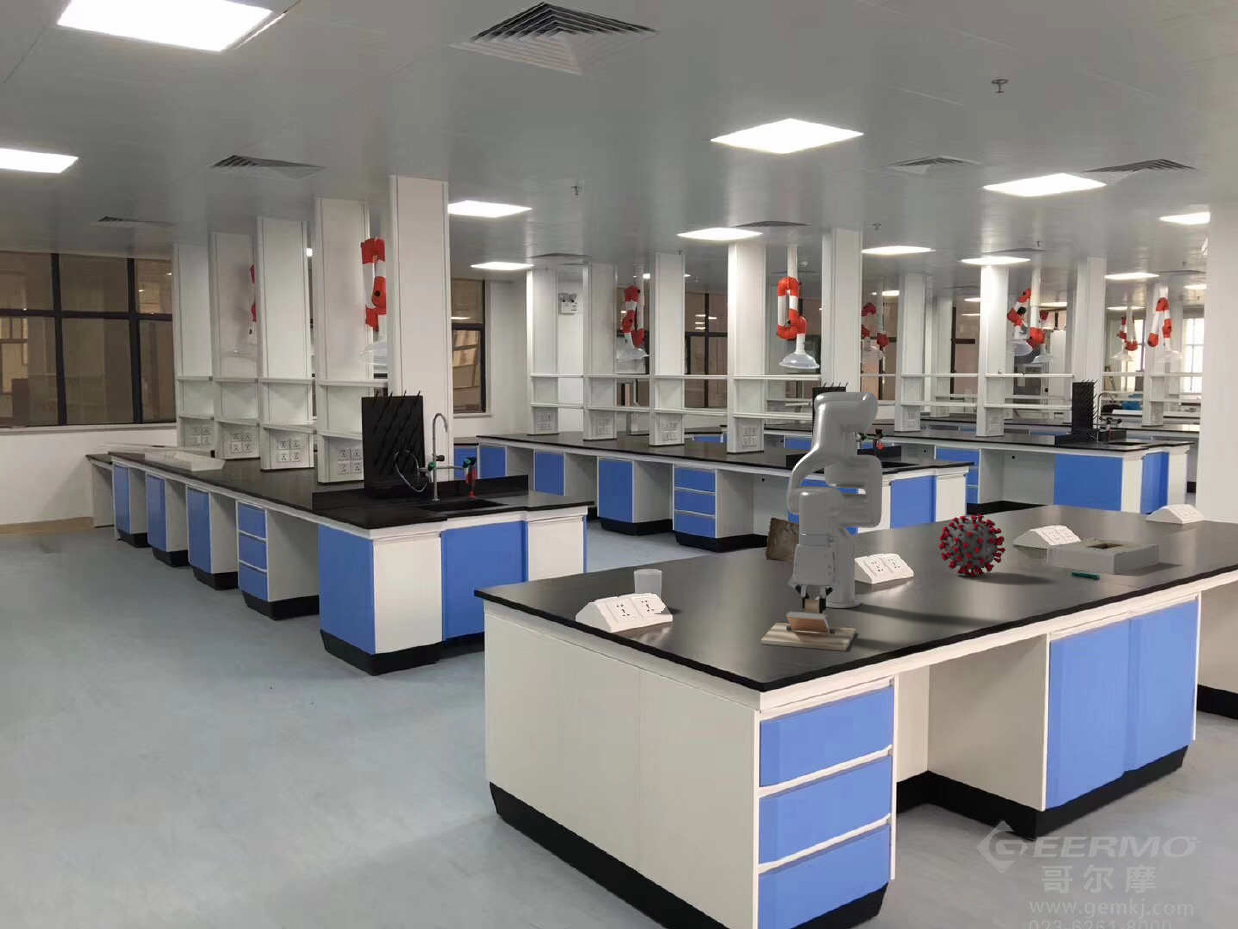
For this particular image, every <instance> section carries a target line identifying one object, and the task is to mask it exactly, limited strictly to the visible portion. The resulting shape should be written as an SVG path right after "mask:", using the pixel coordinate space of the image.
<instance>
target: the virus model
mask: <svg viewBox="0 0 1238 929" xmlns="http://www.w3.org/2000/svg"><path fill="white" fill-rule="evenodd" d="M970 518H971V519H969V518H967V517H966V515H961V516H960V517H959V518H958V517H954V518H952V521H951V522H950V523H949V524H948V527H950V529H949V528H948V527H947V526H944V527H943V528H942V533H941V535H940V537H939V541H940V542H941V543H940V544H939V546H938V548H939V550H940V551H942V550H944V551H945V552H946V553H945V552H941V558H942V560H943V561H944V562H946V561H947V560H949V559H950V561H949V564H948V567H949V569H950V570H954V569H956V568H957V567H959V569H958V570H957V574H958V575H970V577H976V576H977V574H978V575H979V576H982V575H985V571H983V569H986V572H987V573H990V572H992V571H993V568H994V567H995V564H992V563H993V561H995V562H996V563H997V564H1000V563H1002V558H1001V557H1002V555H1003V554H1004V553H1005V552H1006V548H1005V547H1002V546H1003V545H1004V542H1005V537H1004V536H1001V535H1000V536H997V535H999V534H1002V529H1001V527H1000V528H999V527H997V528H995V527H996V523H995V522H994V521H992V520H991V519H990V518H989V519H988V518H987V519H986V520H983V518H985V516H984V515H983V514H978V515H977V516H976V515H975V514H974V515H971V516H970ZM959 519H960V520H961V522H960V521H959ZM955 523H956V524H955ZM998 546H999V547H998ZM969 570H970V571H969Z"/></svg>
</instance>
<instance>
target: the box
mask: <svg viewBox="0 0 1238 929" xmlns="http://www.w3.org/2000/svg"><path fill="white" fill-rule="evenodd" d="M1159 555H1160V545H1159V544H1154V543H1153V544H1152V543H1151V544H1148V543H1140V542H1139V543H1138V542H1133V541H1132V542H1131V541H1123V540H1116V539H1104V538H1100V537H1090V538H1086V539H1084V540H1078V541H1072V542H1067V543H1059V544H1051V545H1049V546H1047V547H1046V562H1047V566H1050V567H1058V568H1063V569H1072V570H1079V571H1085V572H1092V573H1093V572H1094V573H1097V574H1098V573H1100V574H1107V575H1112V576H1113V575H1118V574H1122V573H1126V572H1130V571H1131V572H1132V571H1134V570H1138V569H1139V570H1140V569H1144V568H1147V567H1152V566H1155V565H1159V559H1160V556H1159Z"/></svg>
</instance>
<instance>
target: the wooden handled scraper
mask: <svg viewBox="0 0 1238 929" xmlns="http://www.w3.org/2000/svg"><path fill="white" fill-rule="evenodd" d="M804 611H805V612H804ZM804 611H802V612H801V611H790V610H789V612H788V613H797V614H811V615H825V618H827V617H828V615H827V614H825V611H824V612H823V613H822V614H820V613H819V600H815V599H813V598H809V599H805V609H804Z"/></svg>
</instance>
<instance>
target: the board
mask: <svg viewBox="0 0 1238 929" xmlns="http://www.w3.org/2000/svg"><path fill="white" fill-rule="evenodd" d="M828 627H829V633H820V632H807V631H794V630H792V628H791V626H790V624H789V623H786V622H785V623H782V622H775V623H774V625H773V626H772V627H771V628H770V629H769V630H768V631H767V632H766V633H765V635H763V637H762V638H761V639H760V644H761V645H770V646H771V645H772V646H782V647H795V648H805V649H806V648H807V649H817V650H818V649H819V650H831V651H843V652H846V651H847V649H848V648H849V646H850V645H851V641H852V640H853V638H854V636H855V634H857V633H856V630H857V629H856V628H851V627H849V628H848V627H834V626H828Z"/></svg>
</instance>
